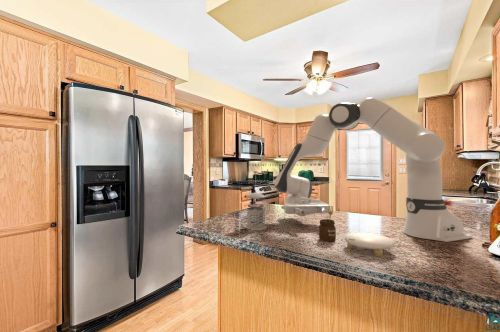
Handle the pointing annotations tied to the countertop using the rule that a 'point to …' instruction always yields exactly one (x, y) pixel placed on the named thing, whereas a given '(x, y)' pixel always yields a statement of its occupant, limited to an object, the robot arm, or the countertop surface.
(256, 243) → the countertop surface
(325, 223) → the utensil holder
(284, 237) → the countertop surface
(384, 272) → the countertop surface
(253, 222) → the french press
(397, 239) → the countertop surface
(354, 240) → the leveling stand
